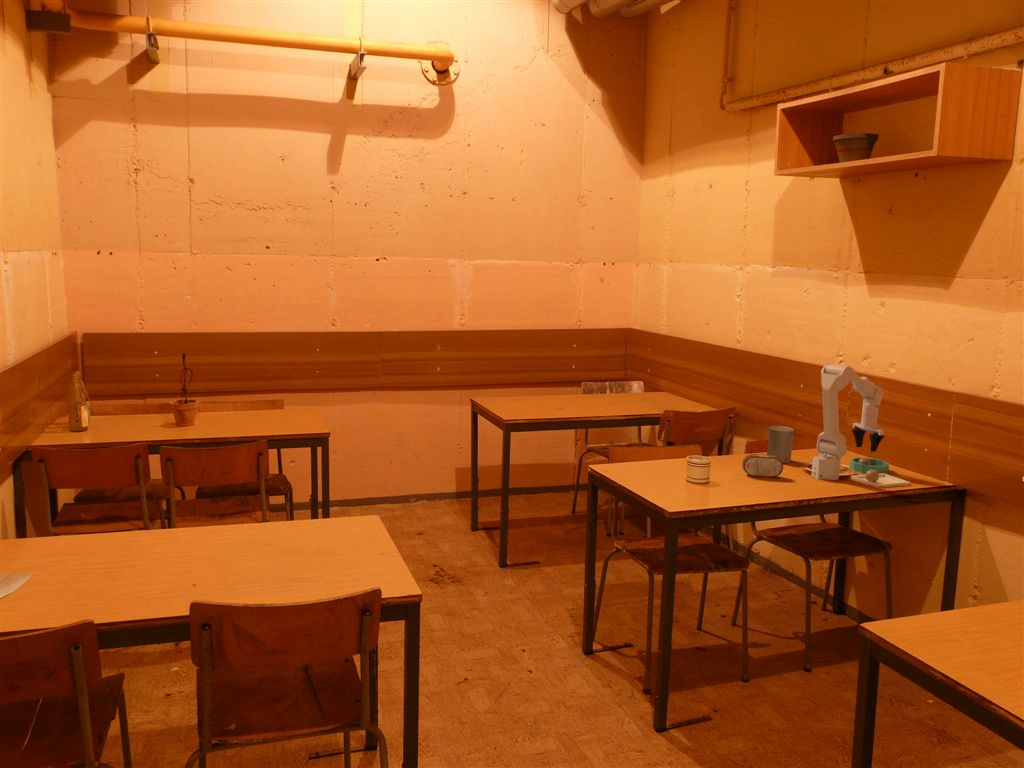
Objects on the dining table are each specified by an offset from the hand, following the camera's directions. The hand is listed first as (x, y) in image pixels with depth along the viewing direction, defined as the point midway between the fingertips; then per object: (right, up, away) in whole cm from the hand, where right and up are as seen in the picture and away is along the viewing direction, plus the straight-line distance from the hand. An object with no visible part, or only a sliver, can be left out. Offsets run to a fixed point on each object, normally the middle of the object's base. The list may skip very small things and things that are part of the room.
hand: (866, 449), depth 325 cm
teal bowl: (+2, -9, +3) cm, 10 cm away
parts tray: (-1, -12, -15) cm, 19 cm away
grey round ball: (0, -8, +2) cm, 8 cm away
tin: (-44, -10, -10) cm, 46 cm away
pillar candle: (-29, -6, +16) cm, 34 cm away
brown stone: (-5, -11, -16) cm, 20 cm away
